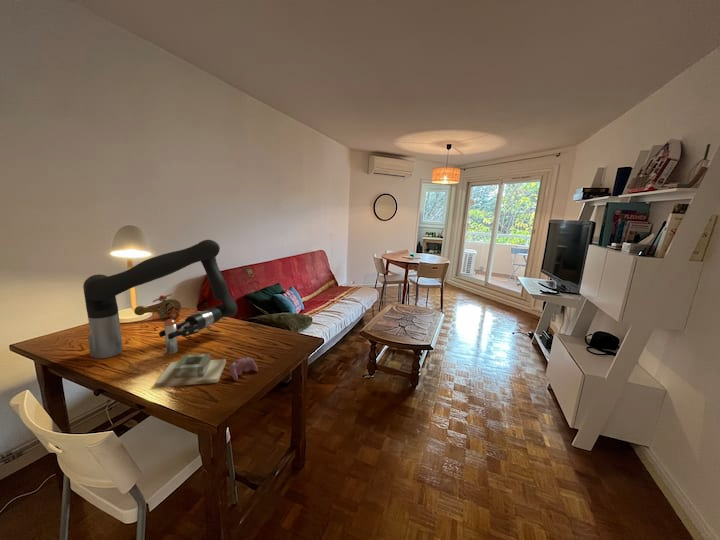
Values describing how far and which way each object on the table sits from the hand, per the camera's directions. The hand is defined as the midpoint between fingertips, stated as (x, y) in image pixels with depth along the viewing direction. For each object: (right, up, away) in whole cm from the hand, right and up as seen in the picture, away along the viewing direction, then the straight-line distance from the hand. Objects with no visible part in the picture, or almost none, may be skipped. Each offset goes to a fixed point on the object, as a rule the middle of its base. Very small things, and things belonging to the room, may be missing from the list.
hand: (164, 335), depth 112 cm
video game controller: (+32, -15, -1) cm, 35 cm away
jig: (+14, -14, -3) cm, 20 cm away
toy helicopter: (-32, -1, +44) cm, 54 cm away
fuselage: (0, -7, +4) cm, 8 cm away
